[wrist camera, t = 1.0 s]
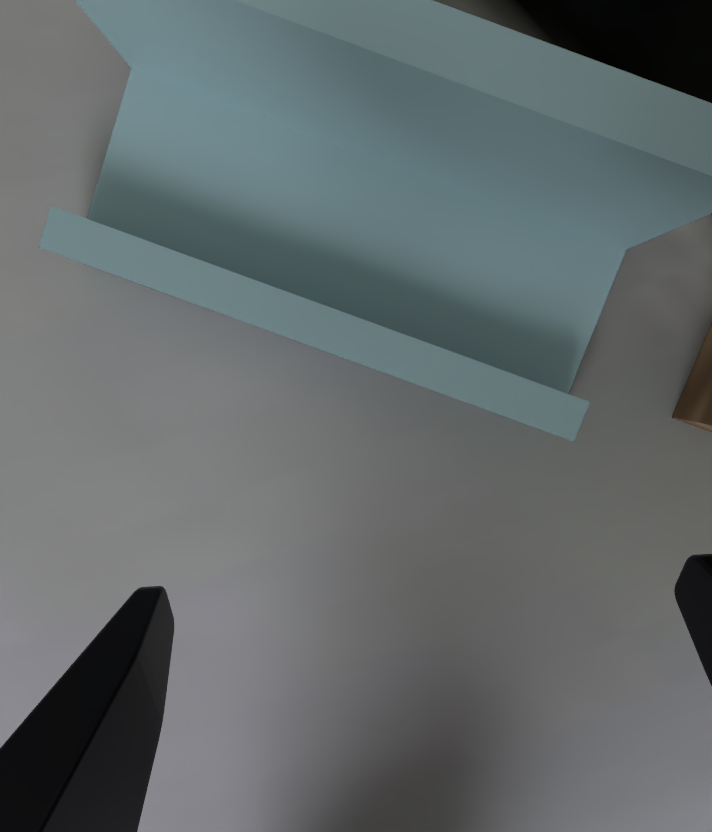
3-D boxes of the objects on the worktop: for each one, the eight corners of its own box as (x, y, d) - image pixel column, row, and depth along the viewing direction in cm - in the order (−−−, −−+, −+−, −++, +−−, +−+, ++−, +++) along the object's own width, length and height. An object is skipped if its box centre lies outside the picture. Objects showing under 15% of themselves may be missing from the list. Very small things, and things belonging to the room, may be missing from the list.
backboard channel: (547, 430, 23) (641, 469, 15) (82, 261, 23) (-73, 209, 15) (635, 213, 22) (785, 130, 14) (150, 34, 22) (23, -152, 14)
